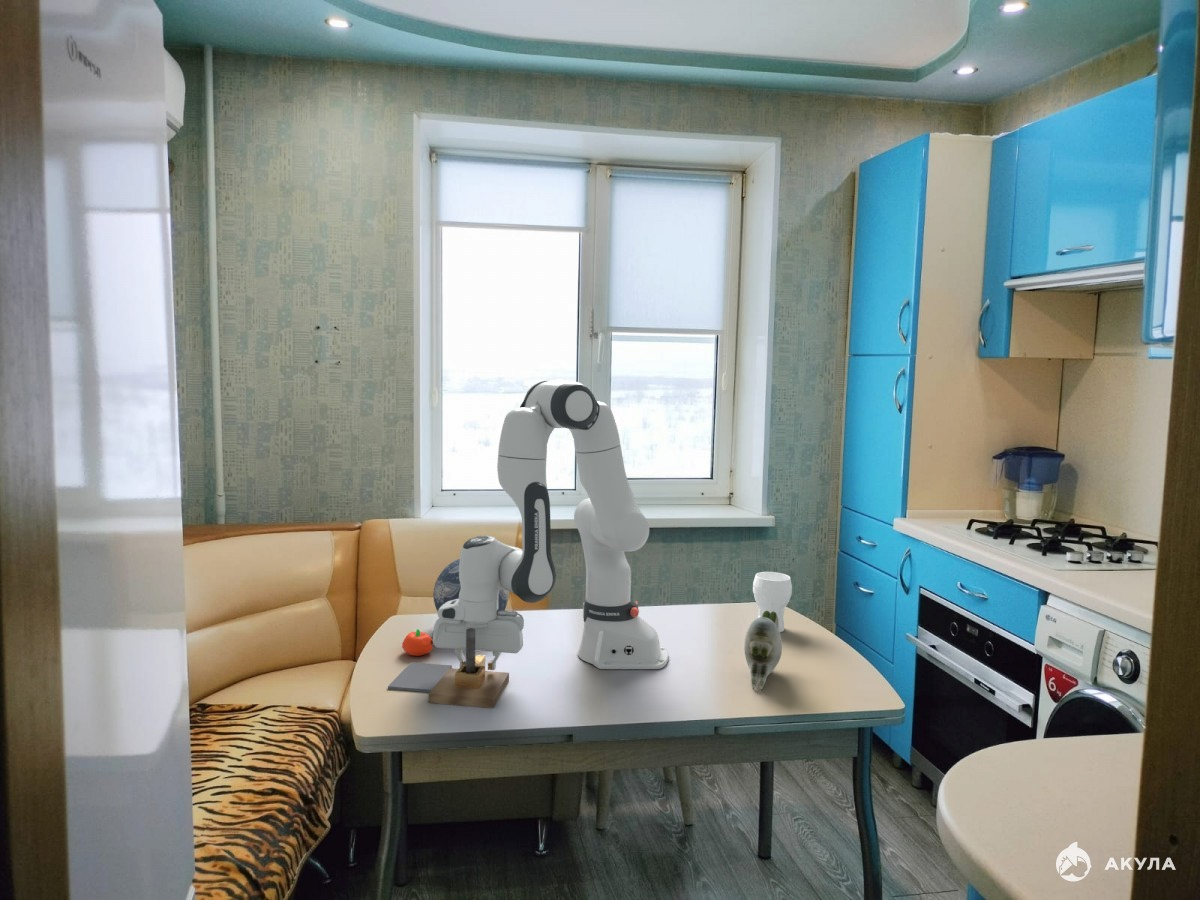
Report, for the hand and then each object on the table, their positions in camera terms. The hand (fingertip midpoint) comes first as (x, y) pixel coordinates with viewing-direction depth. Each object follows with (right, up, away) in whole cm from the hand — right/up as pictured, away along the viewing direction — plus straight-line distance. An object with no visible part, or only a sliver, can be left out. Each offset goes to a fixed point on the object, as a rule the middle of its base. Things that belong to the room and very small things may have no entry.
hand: (477, 668), depth 174 cm
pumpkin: (-17, -1, +15) cm, 23 cm away
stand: (-1, -4, -6) cm, 7 cm away
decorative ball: (-7, +1, +33) cm, 34 cm away
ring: (0, -1, -3) cm, 3 cm away
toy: (+66, -4, +9) cm, 67 cm away
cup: (+75, -1, +42) cm, 86 cm away
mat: (-13, -3, +1) cm, 13 cm away
